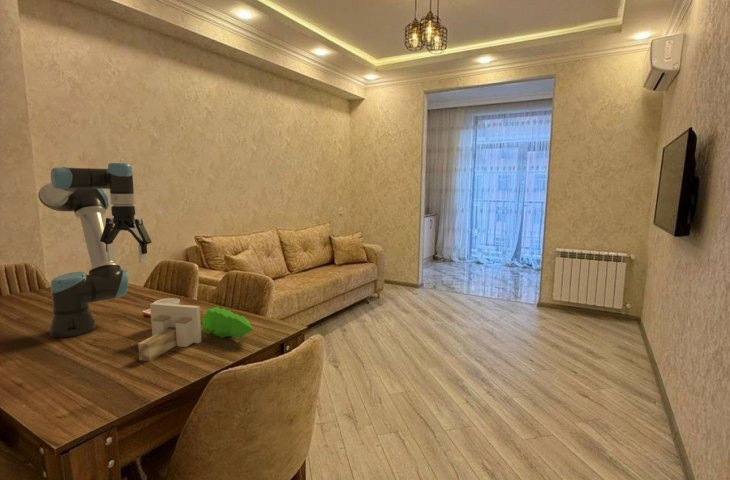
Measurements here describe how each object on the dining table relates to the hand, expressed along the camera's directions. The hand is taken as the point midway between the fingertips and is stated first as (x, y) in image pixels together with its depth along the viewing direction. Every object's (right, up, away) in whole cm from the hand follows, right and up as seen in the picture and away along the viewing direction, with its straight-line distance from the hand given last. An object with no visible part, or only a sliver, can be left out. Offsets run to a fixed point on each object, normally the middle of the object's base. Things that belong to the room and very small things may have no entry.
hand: (127, 261), depth 150 cm
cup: (+7, -29, +18) cm, 35 cm away
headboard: (+16, -31, +2) cm, 35 cm away
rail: (+16, -32, -6) cm, 36 cm away
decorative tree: (+35, -31, +7) cm, 47 cm away
